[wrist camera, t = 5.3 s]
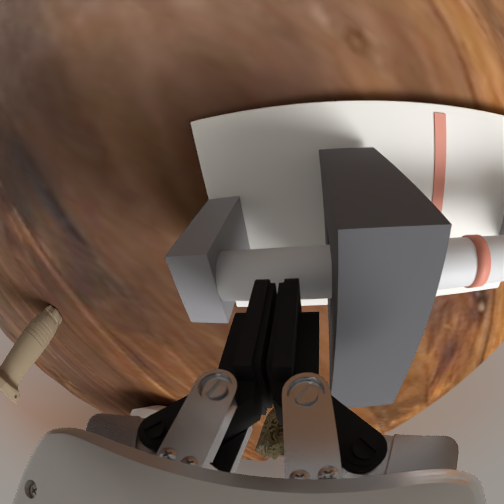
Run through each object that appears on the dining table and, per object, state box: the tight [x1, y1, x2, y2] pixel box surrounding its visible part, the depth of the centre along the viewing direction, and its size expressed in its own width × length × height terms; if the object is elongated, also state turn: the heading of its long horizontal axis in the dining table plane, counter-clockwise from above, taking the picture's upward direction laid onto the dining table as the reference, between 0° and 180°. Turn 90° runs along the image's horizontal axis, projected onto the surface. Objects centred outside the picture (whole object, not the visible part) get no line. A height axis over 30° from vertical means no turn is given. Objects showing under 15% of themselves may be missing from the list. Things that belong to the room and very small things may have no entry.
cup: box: [256, 407, 284, 459], centre depth 27 cm, size 8×7×8 cm
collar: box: [319, 147, 452, 408], centre depth 12 cm, size 9×3×9 cm, turn 10°
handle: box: [0, 305, 62, 404], centre depth 25 cm, size 5×6×15 cm
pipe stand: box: [165, 100, 504, 323], centre depth 13 cm, size 14×23×8 cm, turn 100°
